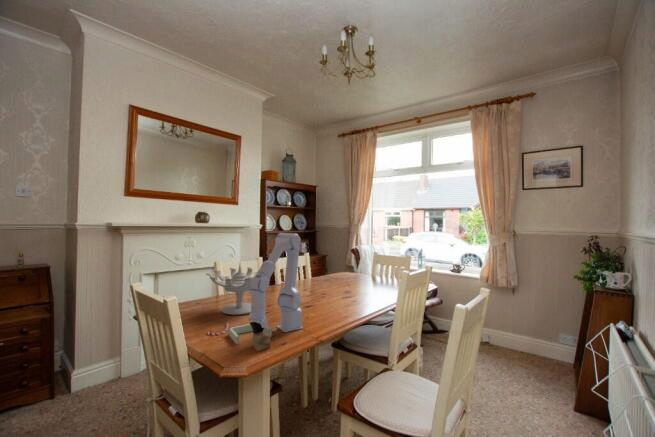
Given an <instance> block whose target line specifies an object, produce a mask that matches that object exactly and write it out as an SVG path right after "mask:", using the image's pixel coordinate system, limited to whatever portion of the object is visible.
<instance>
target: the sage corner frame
mask: <svg viewBox="0 0 655 437" xmlns="http://www.w3.org/2000/svg"><path fill="white" fill-rule="evenodd" d="M264 331H266V332H267V333H268V334H269V335H270V338H272V335H273V334H272V329H271V328H270V327H269V326H268V325H267V327H265V328H264V330H263V332H264ZM250 332H253V330H252V327H251V325H250V323H249V324H248V323H247V324H243V325H237V326H232V327H228V336H229V337H230V339H231V340H232V341H233V342H234V344H235V345H239V344H240V334H244V333H250Z"/></svg>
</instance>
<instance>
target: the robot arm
mask: <svg viewBox="0 0 655 437" xmlns="http://www.w3.org/2000/svg"><path fill="white" fill-rule="evenodd" d="M301 240H302V239H301V237H300V235H299V234H298V233H287V232H285V233H284V232H279V233H278V234H277V235H276V237H275V239H274V242H275V245H274V246H273V249H272V251H271V253H270V254H269V257H268V259H267V260H264V261H263V262H262V263H261V266H260V267H259V269H257V272H256V274H255V275H254V276H253V277H252V276H251V277H252V278H251V279H250V281H249V284H248V287H249V289H250V291H249V293H250V298H251V299H250V304H251V313H249V317H247V321H248V322H249V324H250V325H251V327H252V330H253V331H252V333H253V334H255V333H259V332H263V330H264V328H265V327H267V326H268V321H267V317H266V299H267V297H266V295H267V294H266V293H267V290H268V289H269V287H270V281H271V277H272V275H273V273H274V272H275V271H276V269H277V268H276V263H277V262H278V260H279V258H280V257H281V255H282V254H283V253H284V251H285V253H286V266H285V275H284V283H283V284H284V286H283V288H282V289H280V290H279V291H278V292H279V293H278V297H277V300H276V303H277V306H278V307H279V309H280V325H276V328H278V329H279V330H280V331H282V332H284V333H288V332H292V331H297V330H301V329H303V328H304V327H303V311H302V309H301V308H300V306H301V293H300V291H299V290H298V289H297V288H296V287H297V276H298V275H297V274H298V268H299V267H298V266H299V254H300V251H301ZM253 334H252V335H253Z"/></svg>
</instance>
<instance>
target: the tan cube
mask: <svg viewBox="0 0 655 437" xmlns="http://www.w3.org/2000/svg"><path fill="white" fill-rule="evenodd" d="M252 337H253V338H252V340H253V341H252V347H253V348H254V349H255V350H256V351H257V352H259V351H263V350H268V349H270V348H271V337H270V335H269V334H268V333H267V332H266V331H264V332H259V333H255V334H252Z"/></svg>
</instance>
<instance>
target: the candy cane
mask: <svg viewBox="0 0 655 437" xmlns="http://www.w3.org/2000/svg"><path fill="white" fill-rule="evenodd" d="M229 328H230V327H229V322H225V327H224V329H223V330H222V331H220V332H215V333H212V330H211V329H210V330H208V331H207V332H206V335H207V336H209V337H217V336H221V335H224V334H226V333H227V332H228V331H229Z"/></svg>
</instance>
